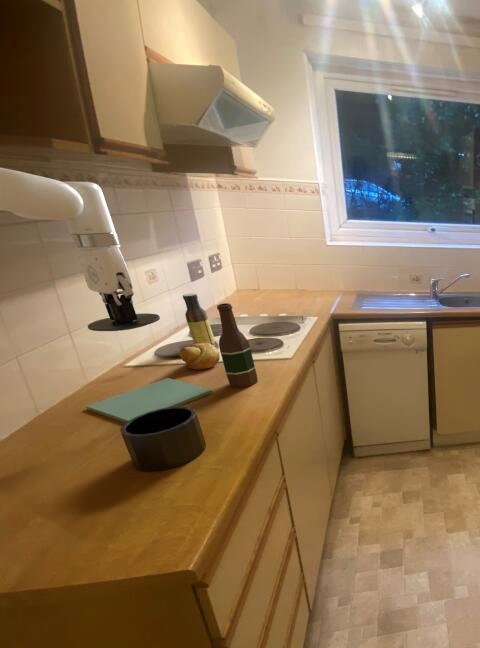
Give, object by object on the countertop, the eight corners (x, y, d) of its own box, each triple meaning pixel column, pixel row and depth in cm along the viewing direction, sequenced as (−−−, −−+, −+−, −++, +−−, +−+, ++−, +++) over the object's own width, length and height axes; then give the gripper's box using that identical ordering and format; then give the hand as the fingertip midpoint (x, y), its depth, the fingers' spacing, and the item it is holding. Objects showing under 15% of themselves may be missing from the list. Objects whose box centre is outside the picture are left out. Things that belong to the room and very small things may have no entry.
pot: (157, 478, 87) (144, 441, 83) (120, 463, 91) (106, 428, 88) (218, 446, 97) (208, 413, 94) (183, 434, 102) (172, 402, 99)
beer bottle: (238, 391, 124) (217, 309, 115) (223, 385, 127) (201, 305, 118) (264, 381, 130) (246, 303, 121) (248, 376, 134) (230, 299, 124)
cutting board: (132, 425, 106) (131, 421, 105) (87, 409, 113) (85, 406, 113) (213, 392, 123) (212, 389, 122) (168, 380, 130) (167, 377, 130)
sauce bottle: (208, 344, 160) (193, 291, 152) (220, 346, 158) (206, 292, 150) (191, 350, 154) (174, 295, 147) (203, 352, 152) (187, 296, 145)
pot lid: (108, 336, 97) (99, 312, 95) (76, 329, 102) (67, 305, 100) (172, 321, 108) (166, 299, 106) (141, 315, 113) (134, 293, 111)
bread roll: (192, 359, 146) (186, 337, 143) (226, 356, 149) (220, 333, 146) (182, 373, 135) (175, 349, 132) (218, 369, 138) (212, 345, 135)
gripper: (56, 241, 97) (86, 319, 104) (96, 245, 91) (126, 328, 98) (96, 237, 104) (122, 312, 111) (137, 241, 97) (162, 320, 105)
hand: (124, 319), depth 104 cm, fingers closed on pot lid, 3 cm apart
